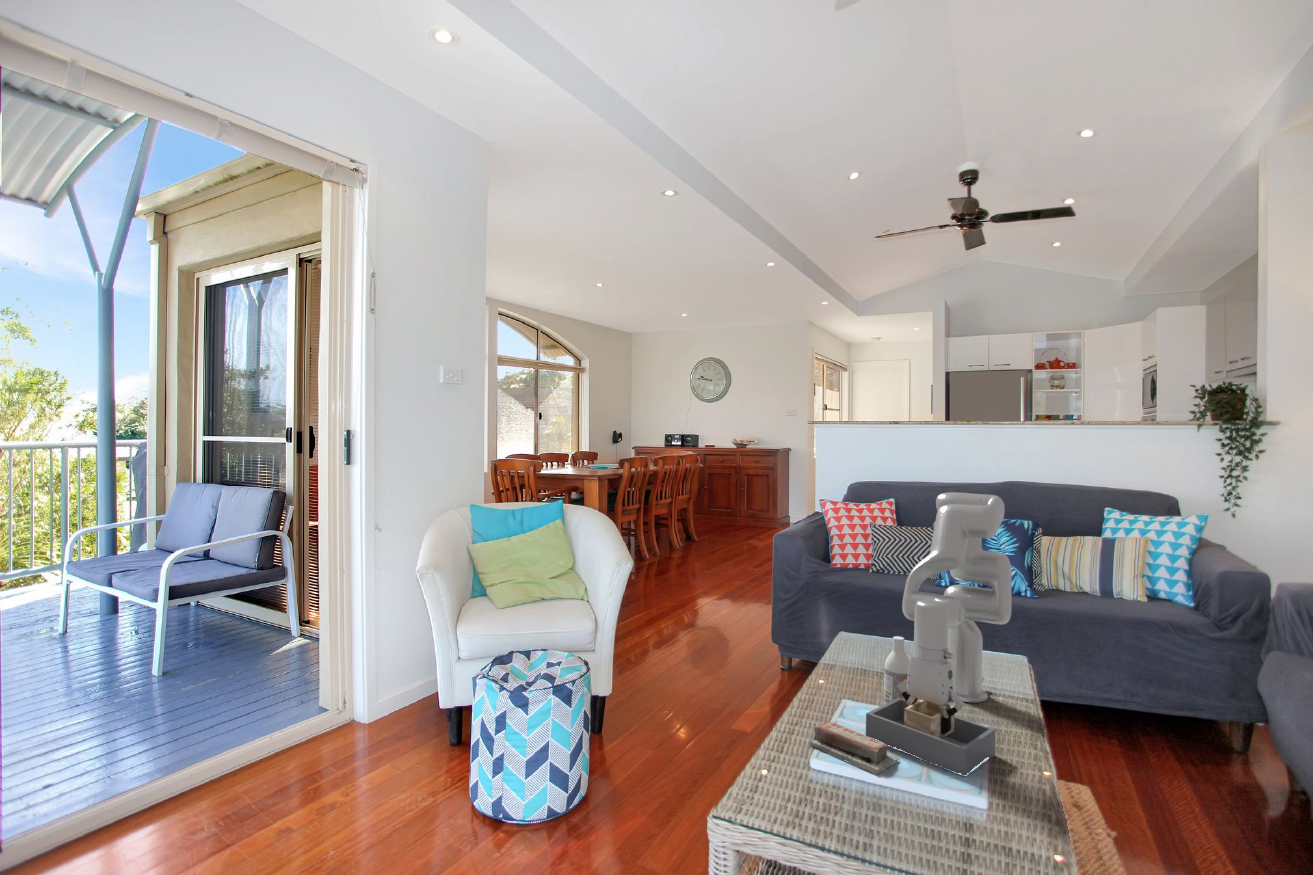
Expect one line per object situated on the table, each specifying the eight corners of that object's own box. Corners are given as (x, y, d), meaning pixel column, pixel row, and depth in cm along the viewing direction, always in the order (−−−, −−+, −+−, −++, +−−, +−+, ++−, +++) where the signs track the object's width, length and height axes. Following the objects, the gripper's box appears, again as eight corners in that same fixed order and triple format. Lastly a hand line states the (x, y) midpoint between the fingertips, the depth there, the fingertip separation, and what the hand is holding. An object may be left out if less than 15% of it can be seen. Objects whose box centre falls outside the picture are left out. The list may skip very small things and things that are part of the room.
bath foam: (900, 719, 170) (901, 643, 170) (878, 709, 176) (879, 636, 176) (916, 713, 174) (917, 639, 174) (894, 704, 179) (895, 632, 180)
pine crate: (925, 721, 161) (926, 696, 161) (954, 730, 156) (954, 706, 156) (903, 733, 154) (904, 708, 154) (932, 744, 149) (933, 718, 149)
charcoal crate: (898, 720, 169) (898, 697, 169) (994, 754, 151) (995, 729, 151) (865, 737, 158) (866, 713, 159) (965, 777, 140) (965, 749, 140)
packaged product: (808, 726, 154) (832, 715, 161) (807, 746, 154) (831, 735, 161) (877, 754, 140) (900, 741, 147) (877, 777, 140) (900, 763, 147)
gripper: (974, 659, 151) (973, 735, 151) (904, 640, 164) (902, 711, 164) (960, 666, 146) (958, 744, 146) (888, 646, 159) (887, 719, 159)
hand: (929, 726), depth 155 cm, fingers closed on pine crate, 7 cm apart
